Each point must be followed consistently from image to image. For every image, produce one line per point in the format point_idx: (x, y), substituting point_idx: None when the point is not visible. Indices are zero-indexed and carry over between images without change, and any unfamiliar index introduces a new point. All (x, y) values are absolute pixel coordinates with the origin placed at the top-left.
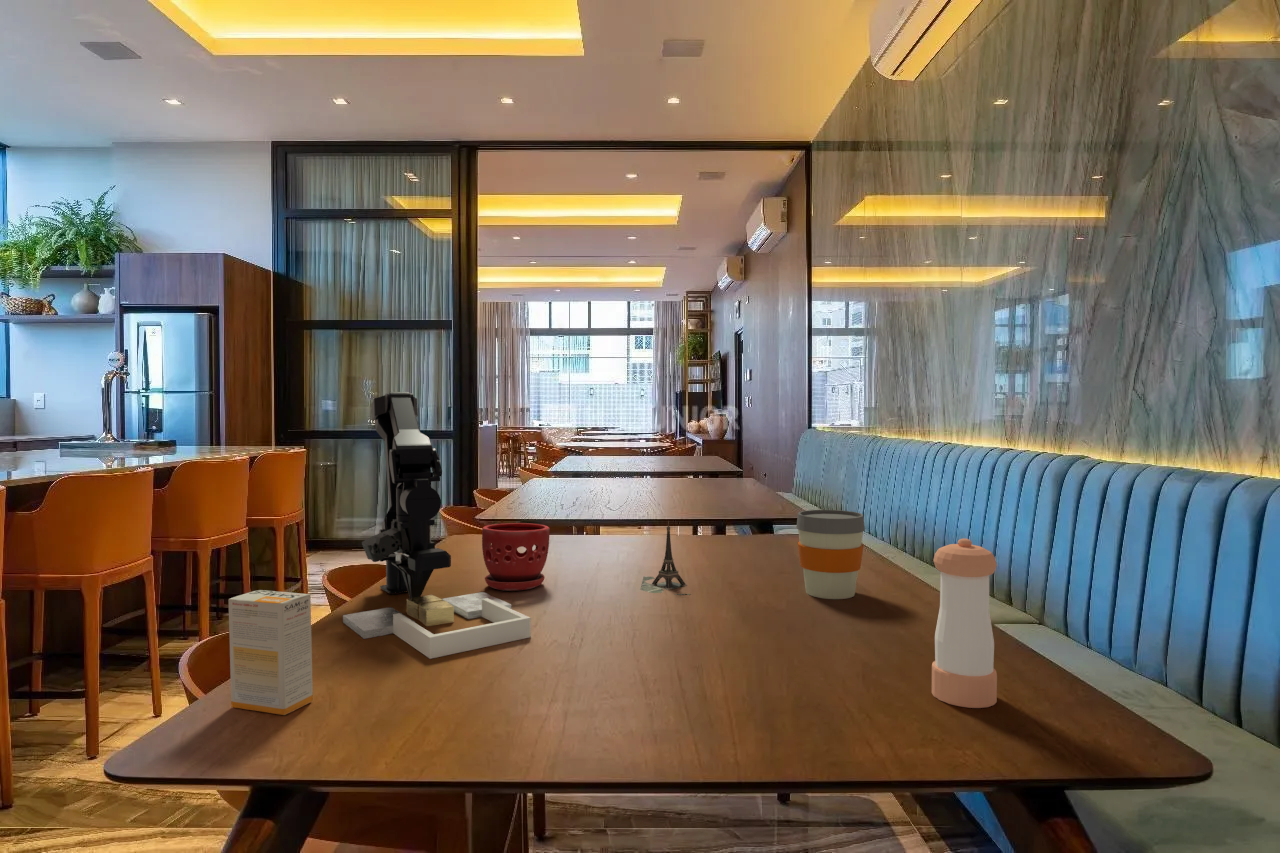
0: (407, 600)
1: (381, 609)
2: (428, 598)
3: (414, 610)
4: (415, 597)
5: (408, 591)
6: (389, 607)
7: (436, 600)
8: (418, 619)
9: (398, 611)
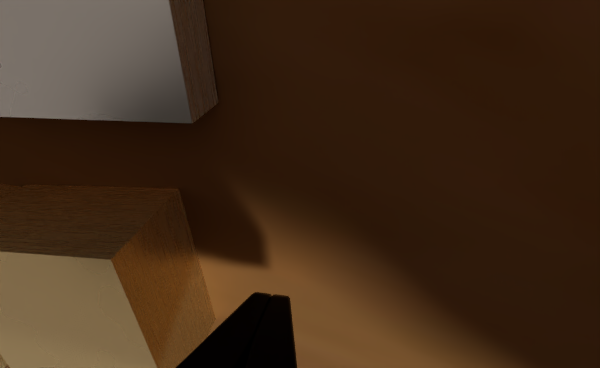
0: (101, 252)
1: (143, 7)
2: (71, 353)
3: (23, 212)
4: (133, 319)
5: (271, 359)
6: (184, 102)
7: (7, 355)
8: (28, 188)
9: (24, 116)
